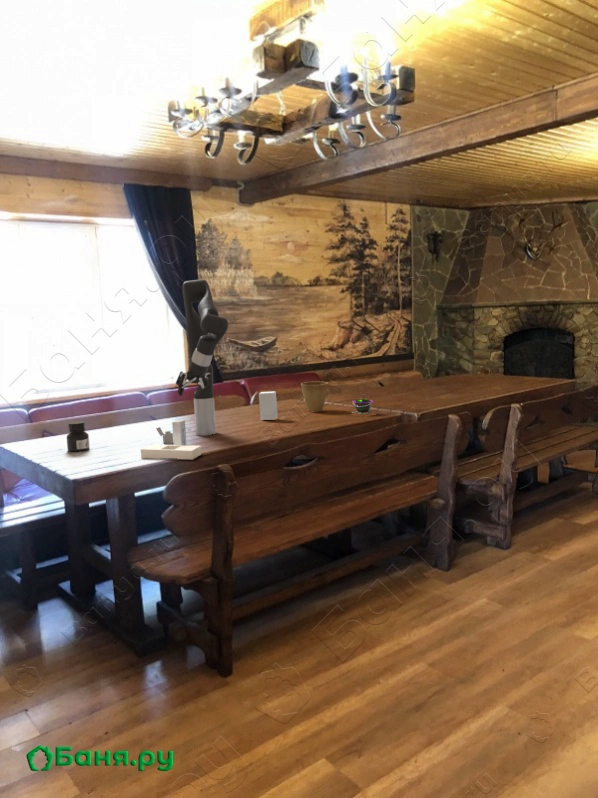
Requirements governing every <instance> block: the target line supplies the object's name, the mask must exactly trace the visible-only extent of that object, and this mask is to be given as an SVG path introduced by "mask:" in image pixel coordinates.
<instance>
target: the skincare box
mask: <svg viewBox="0 0 598 798" xmlns="http://www.w3.org/2000/svg"><path fill="white" fill-rule="evenodd" d="M258 401H259V402H258V403H259V413H260V414H259V415H260V421H261V420H271V419H277V418H279V415H278V414H279V413H278V402H277V401H278V400H277V392H276V391H275V390H274V391H260V392H259V393H258ZM277 420H278V419H277Z"/></svg>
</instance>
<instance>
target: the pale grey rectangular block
mask: <svg viewBox="0 0 598 798" xmlns="http://www.w3.org/2000/svg"><path fill="white" fill-rule="evenodd" d="M171 423H172V433H173V445H187V432H186V429H187V428H186V427H187V426H186V419H177V420H174V421H172V422H171Z"/></svg>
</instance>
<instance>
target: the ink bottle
mask: <svg viewBox="0 0 598 798" xmlns="http://www.w3.org/2000/svg"><path fill="white" fill-rule="evenodd" d="M67 426H68V432H69V433H68V434H67V435H66V444H67V445H66V447H67V451H68V452H71V453H72V452H73V453H79V451H81V452H85V451H87V450H90V436H89V433H88V432H87V431H86V421H84V420H77V421H75V420H74V421H70V422H68V423H67Z"/></svg>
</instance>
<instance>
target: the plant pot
mask: <svg viewBox="0 0 598 798" xmlns="http://www.w3.org/2000/svg"><path fill="white" fill-rule="evenodd" d="M300 386H301V392H302V395H303V400H304V403H305V405H306V408H307V410H308V412H309V411H313V412H312V413H317V412H316V411H321V412H322V411H323V409H324V407H325V403H326V397H327V393H328V386H329V383H328V382H326V381H320V380H319V381H318V380H317V381H306V382H305V381H304V382H301V383H300Z"/></svg>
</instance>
